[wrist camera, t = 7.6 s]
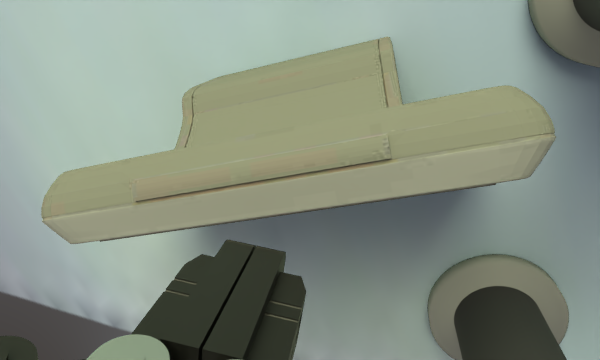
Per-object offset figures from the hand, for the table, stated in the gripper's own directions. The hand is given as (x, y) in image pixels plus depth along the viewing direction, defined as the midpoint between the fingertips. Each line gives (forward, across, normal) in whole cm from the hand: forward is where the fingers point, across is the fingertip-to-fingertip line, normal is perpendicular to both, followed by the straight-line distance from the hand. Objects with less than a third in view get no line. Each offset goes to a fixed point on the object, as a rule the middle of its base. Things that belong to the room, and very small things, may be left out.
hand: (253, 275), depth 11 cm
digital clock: (+13, 0, 0) cm, 13 cm away
